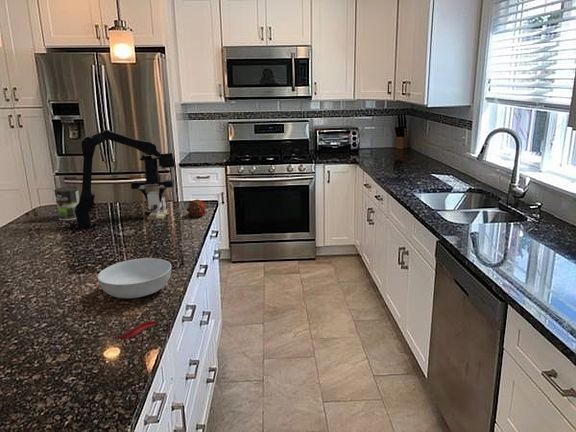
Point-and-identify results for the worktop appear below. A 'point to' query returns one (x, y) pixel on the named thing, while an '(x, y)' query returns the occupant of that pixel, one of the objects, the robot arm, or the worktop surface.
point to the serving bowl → (135, 277)
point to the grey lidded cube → (154, 200)
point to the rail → (160, 217)
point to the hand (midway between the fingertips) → (154, 202)
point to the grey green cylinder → (66, 202)
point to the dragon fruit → (197, 208)
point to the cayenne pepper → (138, 329)
